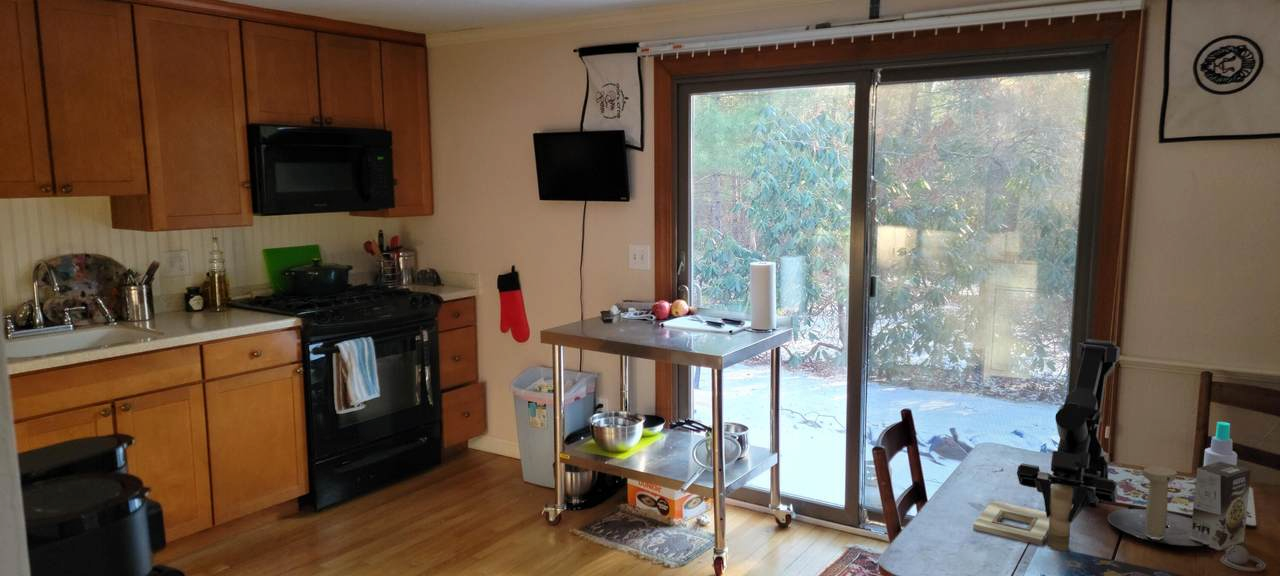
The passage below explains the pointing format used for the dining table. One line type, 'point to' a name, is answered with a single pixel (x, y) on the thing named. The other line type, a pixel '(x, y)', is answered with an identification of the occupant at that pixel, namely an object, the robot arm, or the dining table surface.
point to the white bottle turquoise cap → (1221, 447)
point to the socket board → (997, 510)
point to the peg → (1060, 517)
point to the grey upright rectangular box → (1220, 504)
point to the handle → (1157, 499)
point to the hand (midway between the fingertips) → (1058, 519)
